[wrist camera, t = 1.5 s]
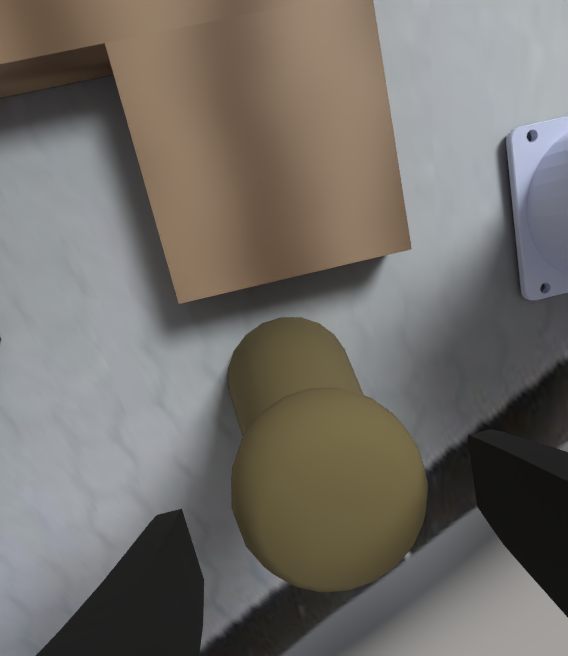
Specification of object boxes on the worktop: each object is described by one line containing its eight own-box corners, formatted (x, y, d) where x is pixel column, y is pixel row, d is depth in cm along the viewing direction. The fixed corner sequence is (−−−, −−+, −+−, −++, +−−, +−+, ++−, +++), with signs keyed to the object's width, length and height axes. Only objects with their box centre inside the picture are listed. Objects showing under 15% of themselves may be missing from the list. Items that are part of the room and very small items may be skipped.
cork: (319, 295, 20) (412, 355, 9) (368, 401, 21) (502, 566, 10) (205, 352, 20) (158, 481, 9) (262, 454, 21) (282, 677, 10)
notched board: (342, -43, 17) (358, -92, 14) (390, 248, 19) (411, 249, 17) (-212, 66, 16) (-295, 34, 13) (-84, 359, 18) (-134, 377, 16)
